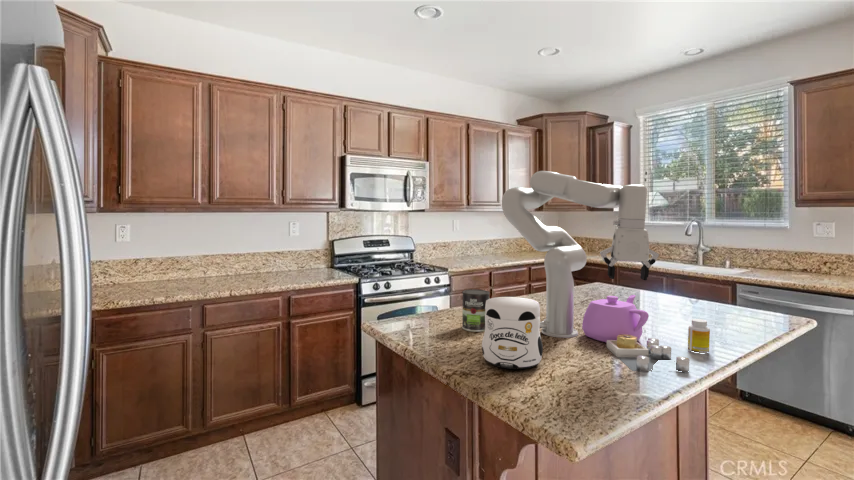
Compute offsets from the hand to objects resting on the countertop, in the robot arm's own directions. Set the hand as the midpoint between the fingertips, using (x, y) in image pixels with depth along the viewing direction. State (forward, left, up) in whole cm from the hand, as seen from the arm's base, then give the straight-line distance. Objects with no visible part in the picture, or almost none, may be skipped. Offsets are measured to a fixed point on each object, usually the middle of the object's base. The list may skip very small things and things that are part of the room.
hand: (627, 278), depth 129 cm
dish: (-1, -4, -22) cm, 23 cm away
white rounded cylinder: (-38, -14, -23) cm, 46 cm away
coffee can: (-47, +22, -23) cm, 56 cm away
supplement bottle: (+21, -1, -23) cm, 31 cm away
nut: (-1, -4, -22) cm, 22 cm away
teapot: (0, +11, -23) cm, 26 cm away
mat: (+2, -9, -23) cm, 25 cm away
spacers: (+2, -10, -23) cm, 25 cm away
